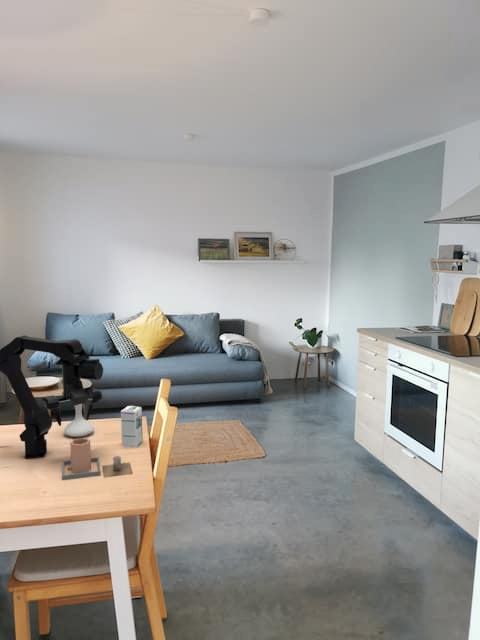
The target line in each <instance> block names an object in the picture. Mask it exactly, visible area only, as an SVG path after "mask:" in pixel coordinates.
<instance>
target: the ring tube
mask: <svg viewBox="0 0 480 640" xmlns="http://www.w3.org/2000/svg"><path fill="white" fill-rule="evenodd" d="M69 445H70V446H69V447H70V460H71V465H68V467H67V471H71V473H72V474H77V473H86V472H91V471H92V462H91V458H92V452H91V450H92V449H91V448H92V447H91V440H90V439H89V438H86V437H80V438H74V439H72V441H70V442H69Z"/></svg>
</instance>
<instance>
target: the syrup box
mask: <svg viewBox="0 0 480 640" xmlns="http://www.w3.org/2000/svg"><path fill="white" fill-rule="evenodd" d="M142 410H143V408H142V406H138V405H127V406H126V407H125V408H123V409H122V410H120V421H121V422H120V424H121V427H120V428H121V446H122V447H125V448H127V447H128V448H138V447H139V446H140V445H141V444H143V442H144V441H143V440H144V439H143V412H142Z"/></svg>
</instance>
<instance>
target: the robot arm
mask: <svg viewBox="0 0 480 640" xmlns="http://www.w3.org/2000/svg"><path fill="white" fill-rule="evenodd" d="M25 350H30V351H36V352H42V353H48V354H52V355H54V357H57V358H59V360H58V361H56V362H55V365H56V366H61V369H62V370H61V371H62V374H61V375H62V379H63V380H62V383H63V389H62V393H61V394H62V396H60V397H57V396H56V395H53V394H52V395H49V396H43V397H42V399H41V405H42V407H44V408H45V409H42V408H41V407H40V406H39V405H38V402H37V400H36V398H35V396H34V394H33V392H32V390H31V388H30V386H29V384H28V382H27V380H26V378H25V376H24V373H23V371H22V358H21V355H22V354H23V353H25ZM0 372H1V373H2V374H3V375H5V377H6V378H7V380H8V382H9V384H10V387H11V388H12V390H13V393H14V395H15V397H16V399H17V401H18V402H19V405H20V407H21V409H22V411H23V413H24V417H23V424H24V427H25V429H24V430H23V431H22V432H21V433H20V434H19V439H20V441H21V442H24V459H35V458H45V457H46V454H47V453H48V445H47V444H48V442H47V438H45V436H46V435H47V434H48V433H49V431H50V429H51V428H52V425H53V422H52V421H53V417H52V416H51V415H50V413H49V411H51V413H53V416H54V418H55V421H56V422H57V424H58V426H60V427H61V426H62V418H61V417H62V416H61V407H60V404H64V403H69V402H71V404H72V406H74V405H78V404H82V405H83V404H84V419H85V420H86V421H89V418H90V415H91V412H92V409H93V408H94V407H93V406H94V405H96V404H97V403H99V400H103V393H102V391H101V390H99V389H97V388H96V387H94V388H93V387H92V386H90V387H89V386H87V387H84V386H83V381H82V380H94V381H100V380H101V379H102V377H103V376H104V375H103V374H104V367H103V365H102V363H101V362H100V358H90V356H89V355H88V353H87V352H86V350H85V349H84V347H83V345H82V343H81V342H80V340H78V339H61V340H53V339H47V338H40V337H33V336H28V335H24V334H23V335H21V336H16V337H14V338H13V339H12V340H11V341H10V342H9V343H8V344H6V345H4V346H3V347H2V348H1V349H0ZM81 379H82V380H81Z"/></svg>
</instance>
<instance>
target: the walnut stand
mask: <svg viewBox="0 0 480 640" xmlns="http://www.w3.org/2000/svg"><path fill="white" fill-rule="evenodd" d="M112 461H113V463H112V464H105V465H102V466H101V468H102V477H103V478H111V477H112V478H113V477H120V476H127V475H133V473H134V472H133V469H132V465H131V462H122V458H121V456H120V455H119V456H113V458H112Z"/></svg>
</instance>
